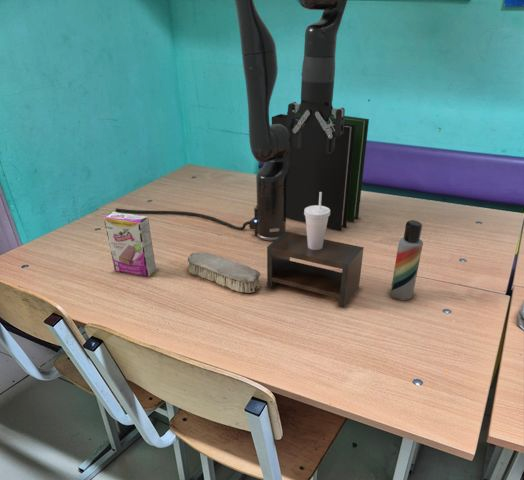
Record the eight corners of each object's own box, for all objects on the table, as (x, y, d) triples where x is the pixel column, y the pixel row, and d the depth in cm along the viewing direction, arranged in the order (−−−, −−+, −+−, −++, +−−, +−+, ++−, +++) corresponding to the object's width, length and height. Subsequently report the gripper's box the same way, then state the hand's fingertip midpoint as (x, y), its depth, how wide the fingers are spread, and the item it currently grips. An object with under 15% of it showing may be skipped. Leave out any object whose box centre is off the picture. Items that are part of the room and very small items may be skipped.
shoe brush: (181, 273, 140) (179, 257, 137) (199, 263, 145) (197, 247, 142) (249, 297, 129) (248, 280, 126) (265, 286, 134) (265, 269, 131)
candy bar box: (114, 272, 141) (102, 217, 131) (123, 264, 145) (112, 210, 135) (148, 278, 138) (139, 222, 128) (157, 270, 142) (148, 215, 132)
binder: (359, 218, 171) (370, 118, 152) (338, 232, 162) (347, 128, 142) (293, 202, 184) (295, 109, 165) (270, 215, 174) (270, 117, 155)
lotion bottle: (387, 290, 131) (399, 217, 119) (408, 288, 132) (422, 216, 120) (394, 301, 127) (406, 227, 115) (415, 299, 127) (430, 226, 115)
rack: (267, 287, 133) (266, 246, 126) (285, 270, 141) (286, 231, 133) (343, 307, 124) (348, 264, 117) (358, 288, 132) (363, 247, 125)
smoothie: (326, 253, 122) (330, 197, 114) (300, 251, 123) (303, 196, 115) (328, 242, 127) (332, 188, 119) (304, 240, 128) (306, 187, 120)
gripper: (353, 78, 113) (345, 151, 123) (297, 72, 119) (294, 143, 129) (340, 83, 108) (333, 159, 118) (283, 77, 114) (281, 150, 124)
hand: (313, 150), depth 123 cm, fingers open, 8 cm apart
